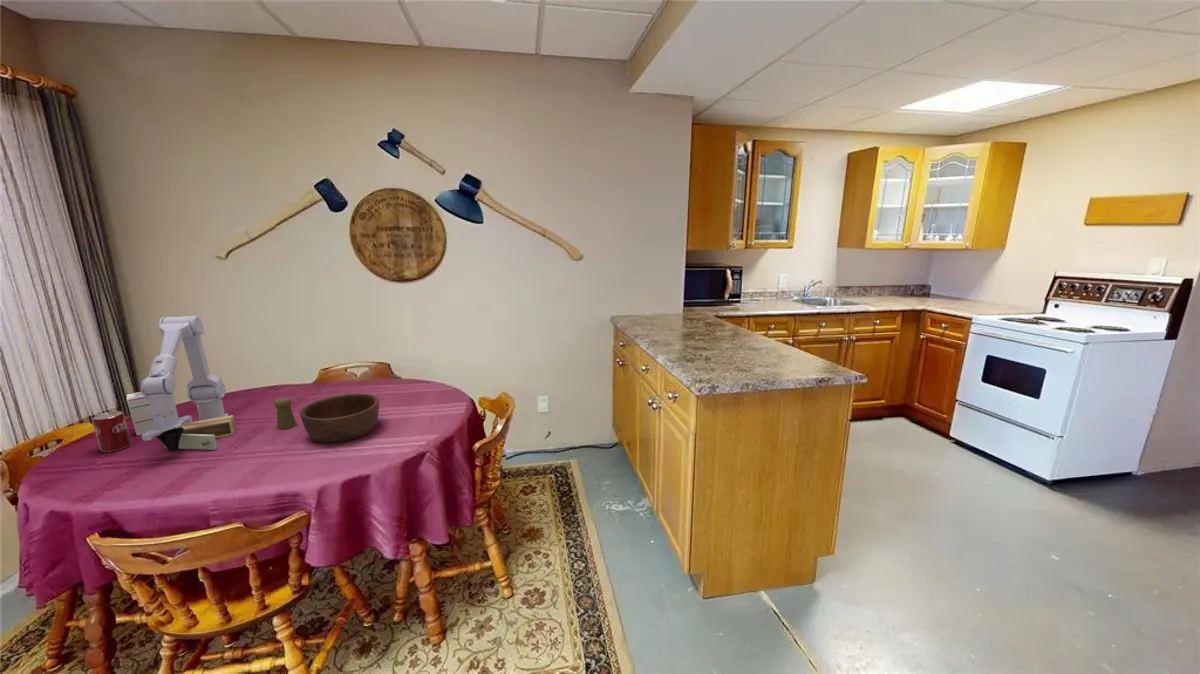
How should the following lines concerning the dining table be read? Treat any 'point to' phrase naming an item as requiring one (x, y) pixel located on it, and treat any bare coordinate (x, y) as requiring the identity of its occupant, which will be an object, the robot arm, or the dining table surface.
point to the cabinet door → (197, 441)
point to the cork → (284, 413)
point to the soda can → (111, 431)
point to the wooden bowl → (340, 417)
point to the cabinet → (211, 427)
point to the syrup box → (140, 412)
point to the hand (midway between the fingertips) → (173, 450)
